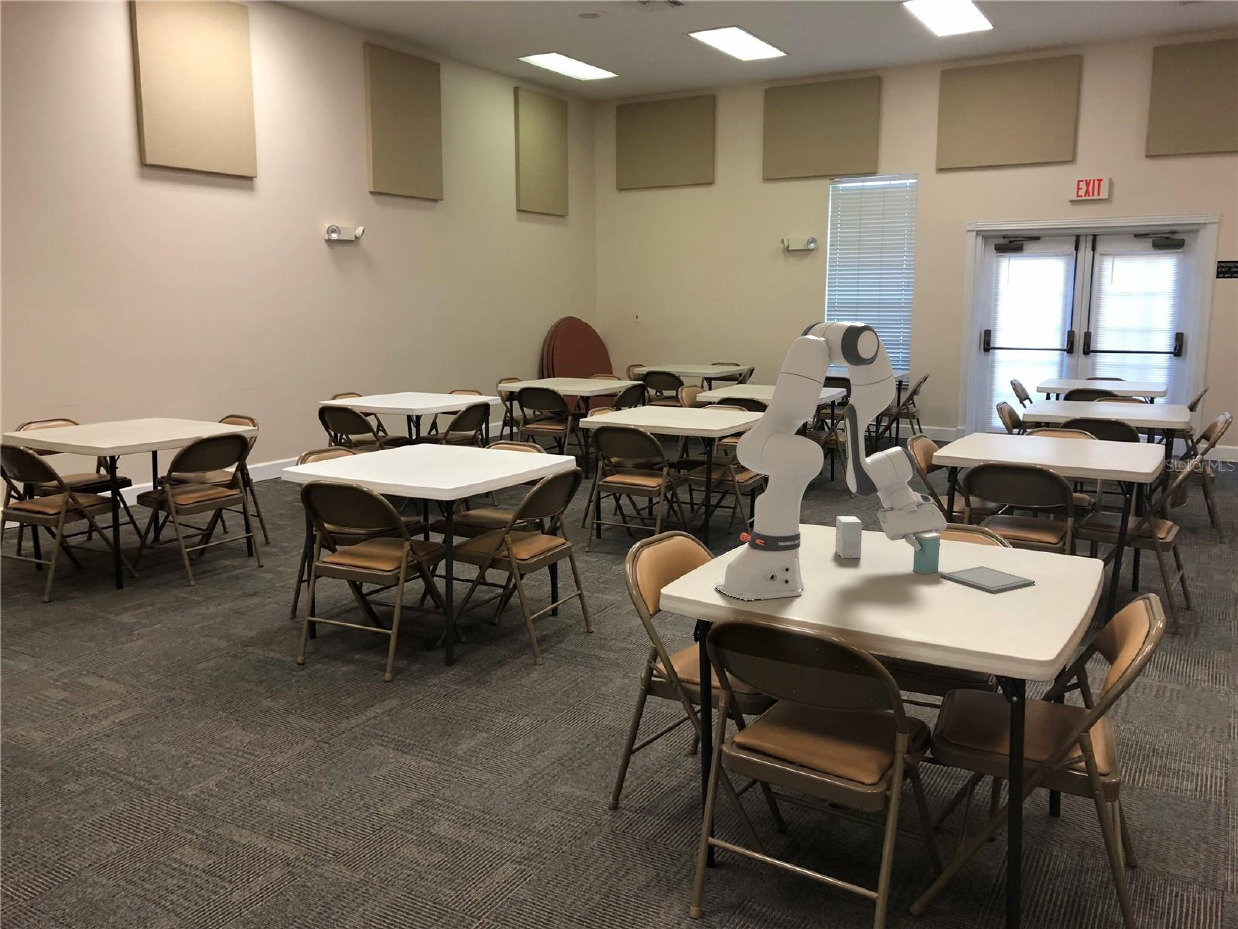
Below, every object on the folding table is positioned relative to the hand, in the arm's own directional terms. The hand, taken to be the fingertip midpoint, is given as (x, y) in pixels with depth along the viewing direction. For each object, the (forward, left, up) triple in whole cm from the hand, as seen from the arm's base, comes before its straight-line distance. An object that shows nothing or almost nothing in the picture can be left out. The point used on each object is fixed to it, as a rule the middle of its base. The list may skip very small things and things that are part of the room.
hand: (928, 548), depth 238 cm
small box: (-6, +24, -7) cm, 25 cm away
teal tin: (0, +1, -6) cm, 6 cm away
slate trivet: (+7, -13, -6) cm, 16 cm away
